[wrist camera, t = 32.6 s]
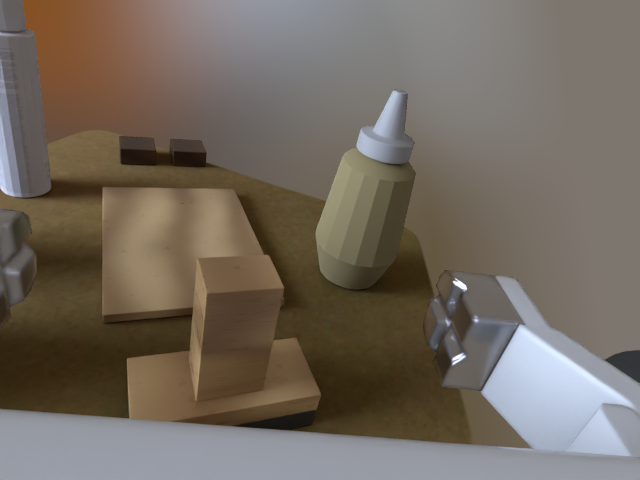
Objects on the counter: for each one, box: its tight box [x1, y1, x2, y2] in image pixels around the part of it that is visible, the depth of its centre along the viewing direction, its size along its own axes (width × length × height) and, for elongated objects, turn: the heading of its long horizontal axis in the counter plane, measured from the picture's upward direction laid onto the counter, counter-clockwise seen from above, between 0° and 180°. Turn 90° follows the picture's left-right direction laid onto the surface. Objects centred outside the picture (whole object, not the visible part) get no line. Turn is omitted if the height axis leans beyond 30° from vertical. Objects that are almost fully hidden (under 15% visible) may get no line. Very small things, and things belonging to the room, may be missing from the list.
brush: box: [127, 255, 321, 430], centre depth 27 cm, size 11×5×11 cm, turn 111°
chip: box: [119, 136, 156, 165], centre depth 57 cm, size 4×4×2 cm
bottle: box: [0, 0, 51, 198], centre depth 42 cm, size 4×4×20 cm
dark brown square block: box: [170, 139, 206, 167], centre depth 60 cm, size 4×4×2 cm
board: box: [102, 187, 284, 323], centre depth 44 cm, size 14×20×1 cm
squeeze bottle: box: [315, 89, 416, 290], centre depth 41 cm, size 8×8×18 cm
